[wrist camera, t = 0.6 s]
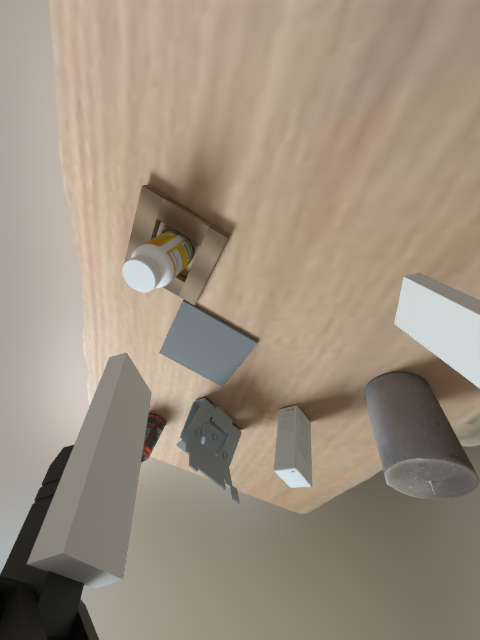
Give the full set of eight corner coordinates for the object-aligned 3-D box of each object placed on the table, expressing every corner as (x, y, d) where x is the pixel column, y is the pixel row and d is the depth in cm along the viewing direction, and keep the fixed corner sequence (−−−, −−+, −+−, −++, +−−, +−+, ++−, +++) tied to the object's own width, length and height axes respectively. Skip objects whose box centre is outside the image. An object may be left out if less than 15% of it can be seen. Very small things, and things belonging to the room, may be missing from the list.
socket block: (148, 184, 30) (142, 185, 29) (230, 235, 32) (227, 238, 31) (129, 261, 37) (123, 265, 36) (197, 300, 39) (194, 305, 38)
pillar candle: (441, 397, 39) (504, 506, 27) (383, 417, 44) (414, 515, 32) (408, 361, 37) (461, 463, 25) (351, 386, 42) (370, 480, 30)
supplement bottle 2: (140, 412, 62) (111, 457, 53) (159, 412, 60) (133, 458, 51) (151, 426, 65) (126, 471, 55) (169, 427, 63) (146, 473, 53)
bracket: (253, 426, 55) (239, 503, 43) (221, 435, 59) (201, 506, 47) (217, 391, 50) (190, 465, 38) (186, 403, 55) (153, 472, 43)
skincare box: (278, 408, 49) (272, 470, 40) (297, 404, 47) (295, 468, 38) (292, 426, 51) (290, 488, 42) (311, 422, 49) (313, 487, 40)
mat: (184, 299, 39) (182, 300, 39) (258, 341, 41) (257, 343, 40) (160, 350, 47) (159, 352, 47) (222, 384, 49) (222, 386, 48)
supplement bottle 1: (152, 251, 35) (109, 277, 28) (168, 221, 33) (125, 242, 25) (182, 274, 37) (149, 306, 29) (200, 248, 34) (169, 275, 26)
